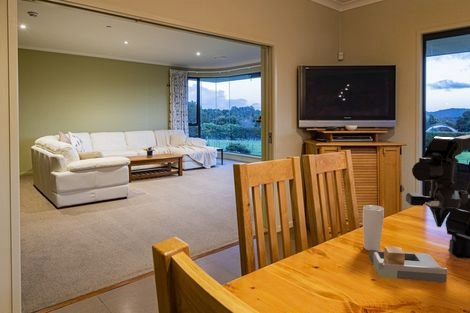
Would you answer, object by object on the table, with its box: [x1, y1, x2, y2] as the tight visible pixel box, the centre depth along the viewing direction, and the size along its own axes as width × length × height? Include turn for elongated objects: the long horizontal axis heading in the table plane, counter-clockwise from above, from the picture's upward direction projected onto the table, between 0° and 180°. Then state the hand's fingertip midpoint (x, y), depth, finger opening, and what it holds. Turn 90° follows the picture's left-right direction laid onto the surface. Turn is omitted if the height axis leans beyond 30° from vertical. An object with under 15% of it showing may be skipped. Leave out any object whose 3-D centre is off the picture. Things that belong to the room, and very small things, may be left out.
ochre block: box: [383, 246, 405, 265], centre depth 101 cm, size 4×4×4 cm
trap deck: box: [368, 249, 448, 283], centre depth 103 cm, size 18×14×4 cm
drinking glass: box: [362, 204, 385, 252], centre depth 117 cm, size 7×7×15 cm
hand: (438, 226), depth 105 cm, fingers closed
